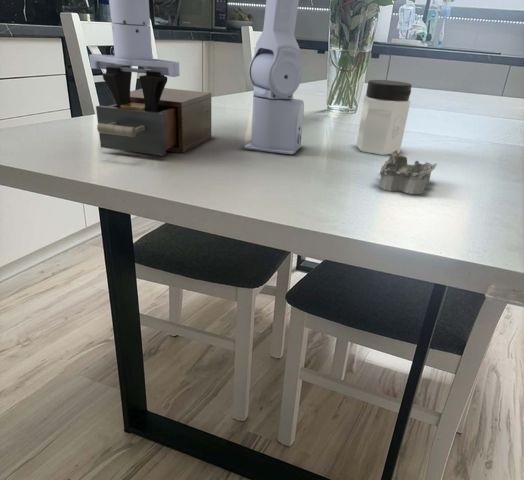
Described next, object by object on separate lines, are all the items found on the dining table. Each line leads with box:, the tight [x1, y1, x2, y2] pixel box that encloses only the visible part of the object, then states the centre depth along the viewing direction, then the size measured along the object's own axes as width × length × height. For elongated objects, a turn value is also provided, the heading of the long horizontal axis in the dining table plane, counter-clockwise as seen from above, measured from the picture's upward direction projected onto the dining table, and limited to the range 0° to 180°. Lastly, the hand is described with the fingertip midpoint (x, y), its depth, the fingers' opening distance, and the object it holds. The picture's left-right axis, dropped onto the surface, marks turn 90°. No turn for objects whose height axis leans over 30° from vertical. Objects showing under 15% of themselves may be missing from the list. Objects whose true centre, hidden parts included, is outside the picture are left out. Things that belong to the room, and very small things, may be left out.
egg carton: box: [378, 150, 437, 195], centre depth 76 cm, size 11×8×4 cm
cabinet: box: [113, 87, 212, 154], centre depth 90 cm, size 15×13×8 cm
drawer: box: [95, 102, 179, 157], centre depth 82 cm, size 18×11×6 cm, turn 165°
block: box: [121, 102, 145, 111], centre depth 80 cm, size 4×4×4 cm
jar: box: [356, 79, 413, 156], centre depth 94 cm, size 9×8×12 cm
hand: (138, 122), depth 81 cm, fingers closed on block, 4 cm apart
